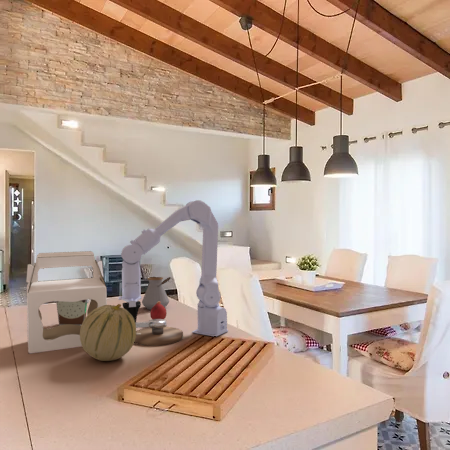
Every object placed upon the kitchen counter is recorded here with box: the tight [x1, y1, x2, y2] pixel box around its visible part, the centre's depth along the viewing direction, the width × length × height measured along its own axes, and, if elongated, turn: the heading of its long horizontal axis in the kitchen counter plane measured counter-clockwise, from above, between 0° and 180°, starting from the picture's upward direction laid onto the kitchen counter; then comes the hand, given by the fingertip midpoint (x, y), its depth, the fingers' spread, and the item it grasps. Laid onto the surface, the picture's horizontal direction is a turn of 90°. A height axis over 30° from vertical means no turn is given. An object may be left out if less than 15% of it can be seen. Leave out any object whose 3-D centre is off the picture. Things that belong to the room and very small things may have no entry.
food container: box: [54, 299, 90, 326], centre depth 151 cm, size 12×6×10 cm, turn 84°
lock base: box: [134, 326, 184, 346], centre depth 131 cm, size 16×16×4 cm
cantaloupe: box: [80, 303, 137, 362], centre depth 111 cm, size 15×15×15 cm
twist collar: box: [135, 318, 168, 329], centre depth 130 cm, size 14×6×2 cm, turn 104°
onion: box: [149, 301, 167, 320], centre depth 149 cm, size 6×6×8 cm
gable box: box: [25, 250, 108, 354], centre depth 127 cm, size 22×13×28 cm, turn 117°
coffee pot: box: [141, 276, 174, 311], centre depth 171 cm, size 21×12×15 cm, turn 32°
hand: (131, 325), depth 131 cm, fingers closed
